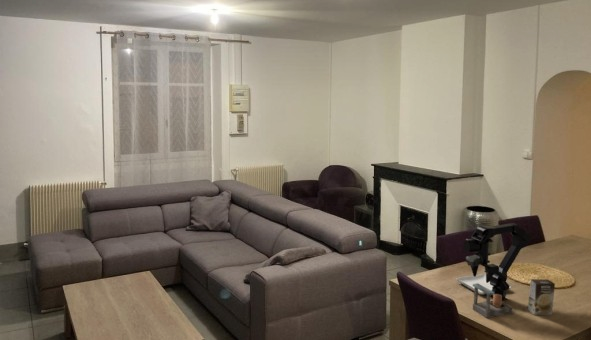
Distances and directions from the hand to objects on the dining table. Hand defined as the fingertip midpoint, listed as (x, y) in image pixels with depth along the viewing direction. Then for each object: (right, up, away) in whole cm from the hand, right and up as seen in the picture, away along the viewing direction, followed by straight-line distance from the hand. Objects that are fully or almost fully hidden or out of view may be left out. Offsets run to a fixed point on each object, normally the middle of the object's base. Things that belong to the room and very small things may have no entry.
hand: (480, 279), depth 255 cm
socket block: (+2, -14, -10) cm, 17 cm away
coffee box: (+25, -14, -11) cm, 31 cm away
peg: (+4, -14, -9) cm, 17 cm away
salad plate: (+9, -9, +20) cm, 24 cm away
